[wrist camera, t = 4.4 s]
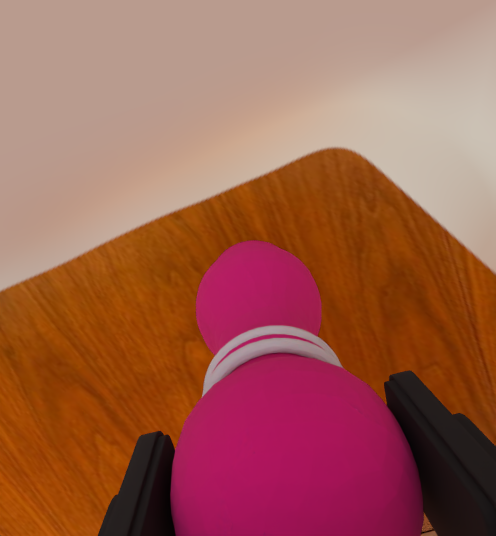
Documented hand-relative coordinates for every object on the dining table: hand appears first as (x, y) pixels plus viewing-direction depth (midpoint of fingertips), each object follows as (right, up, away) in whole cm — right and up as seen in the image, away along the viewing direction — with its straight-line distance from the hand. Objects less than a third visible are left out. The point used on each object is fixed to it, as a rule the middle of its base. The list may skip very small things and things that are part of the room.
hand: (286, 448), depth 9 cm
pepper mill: (-1, +4, +15) cm, 15 cm away
